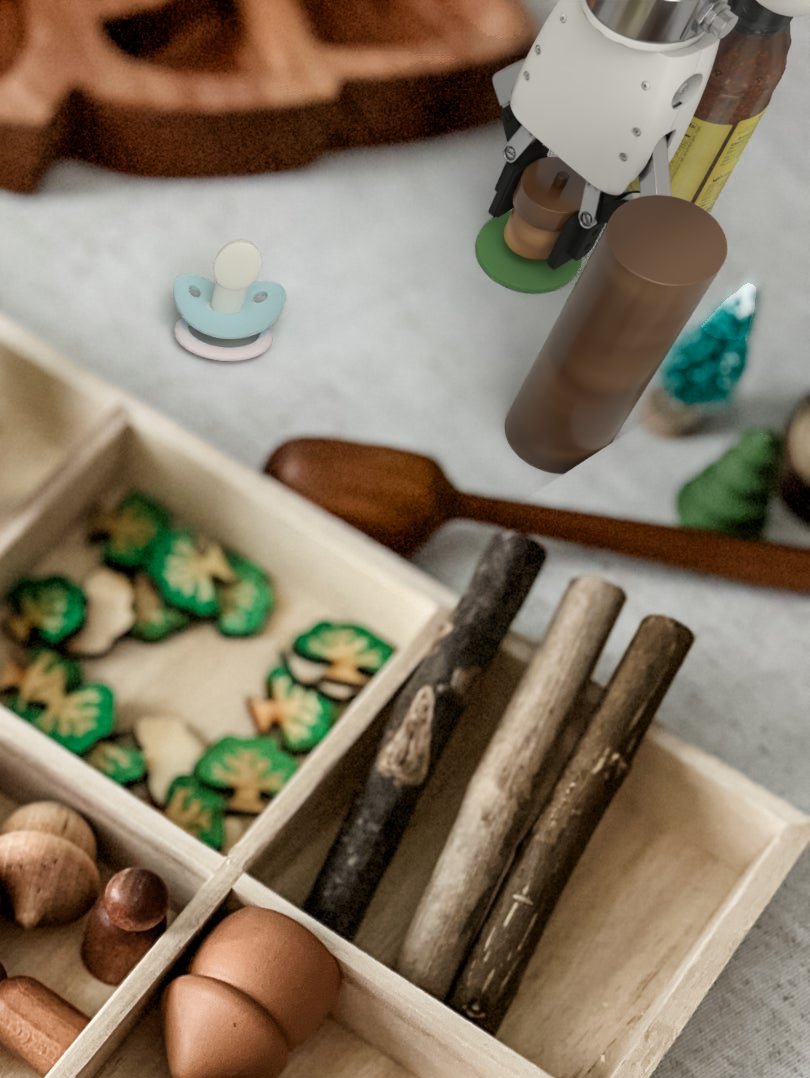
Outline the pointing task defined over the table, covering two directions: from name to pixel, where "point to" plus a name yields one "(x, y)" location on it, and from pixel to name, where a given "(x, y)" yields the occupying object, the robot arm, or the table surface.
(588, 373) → the brown cylinder
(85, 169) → the table surface
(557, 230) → the stemmed brown cap
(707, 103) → the sauce bottle
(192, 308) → the pacifier
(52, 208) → the table surface
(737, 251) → the table surface
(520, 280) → the coaster
